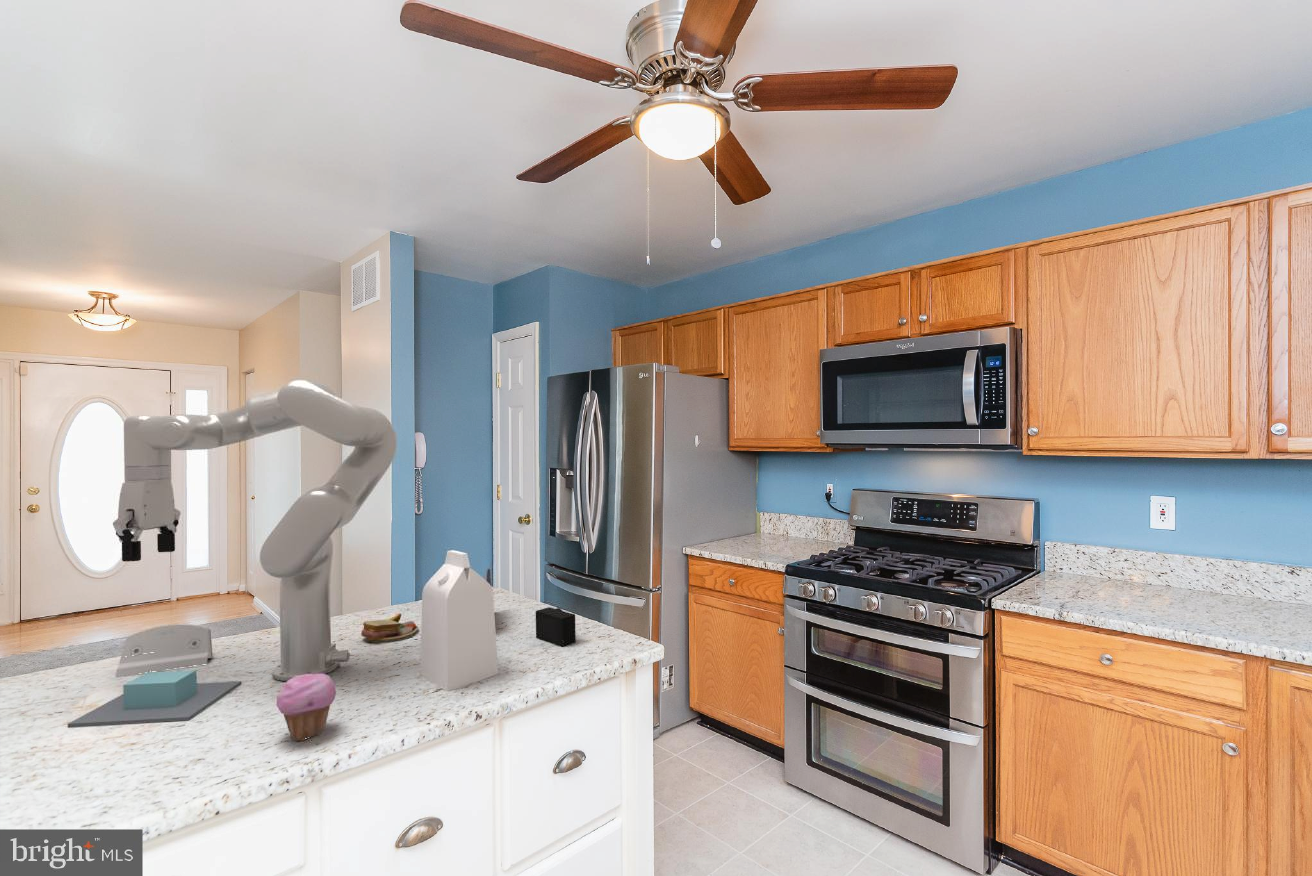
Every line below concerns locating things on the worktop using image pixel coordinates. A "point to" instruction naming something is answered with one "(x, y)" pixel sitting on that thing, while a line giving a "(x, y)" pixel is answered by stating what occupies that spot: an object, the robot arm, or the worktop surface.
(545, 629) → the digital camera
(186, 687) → the card box
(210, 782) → the worktop surface
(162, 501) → the robot arm
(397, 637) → the toy sandwich meal
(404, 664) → the worktop surface
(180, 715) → the mat
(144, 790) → the worktop surface
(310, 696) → the cupcake
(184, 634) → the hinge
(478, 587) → the milk
